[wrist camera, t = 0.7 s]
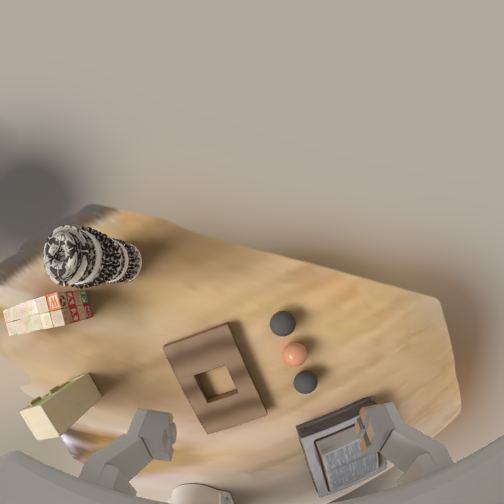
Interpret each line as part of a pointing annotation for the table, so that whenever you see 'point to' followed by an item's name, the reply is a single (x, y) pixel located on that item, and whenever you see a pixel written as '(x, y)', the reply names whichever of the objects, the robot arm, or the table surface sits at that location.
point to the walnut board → (209, 357)
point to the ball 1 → (282, 323)
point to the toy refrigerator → (60, 407)
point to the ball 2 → (305, 382)
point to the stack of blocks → (47, 312)
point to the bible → (337, 450)
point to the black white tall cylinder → (89, 258)
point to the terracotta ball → (294, 354)
